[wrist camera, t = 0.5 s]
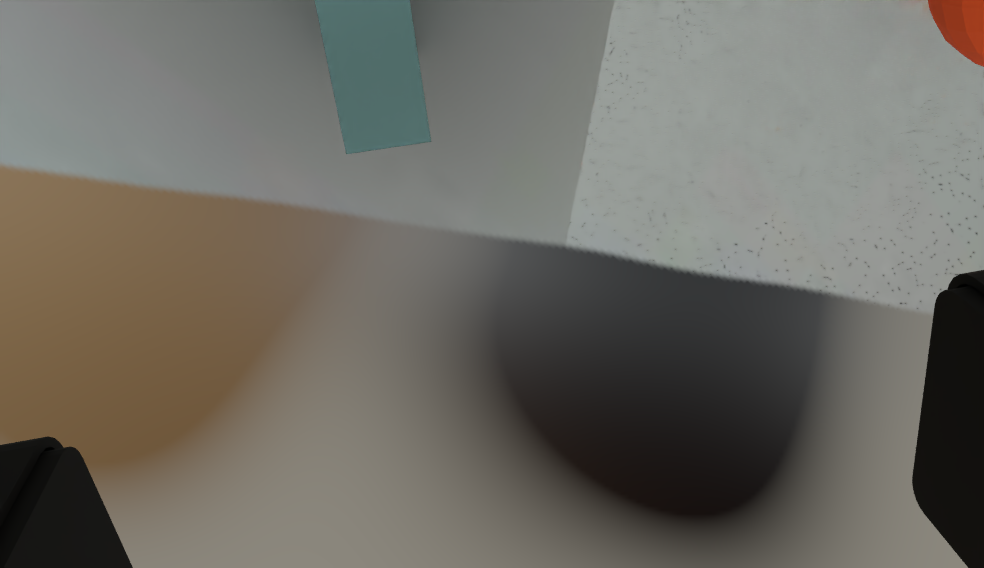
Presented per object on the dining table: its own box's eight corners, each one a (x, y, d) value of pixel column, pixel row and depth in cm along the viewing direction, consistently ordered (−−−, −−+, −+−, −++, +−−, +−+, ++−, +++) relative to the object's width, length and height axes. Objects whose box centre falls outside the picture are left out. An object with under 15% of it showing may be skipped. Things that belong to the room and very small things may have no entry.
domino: (323, -90, 27) (303, -52, 20) (392, -99, 28) (399, -65, 20) (353, 65, 30) (346, 153, 22) (415, 56, 30) (431, 141, 22)
